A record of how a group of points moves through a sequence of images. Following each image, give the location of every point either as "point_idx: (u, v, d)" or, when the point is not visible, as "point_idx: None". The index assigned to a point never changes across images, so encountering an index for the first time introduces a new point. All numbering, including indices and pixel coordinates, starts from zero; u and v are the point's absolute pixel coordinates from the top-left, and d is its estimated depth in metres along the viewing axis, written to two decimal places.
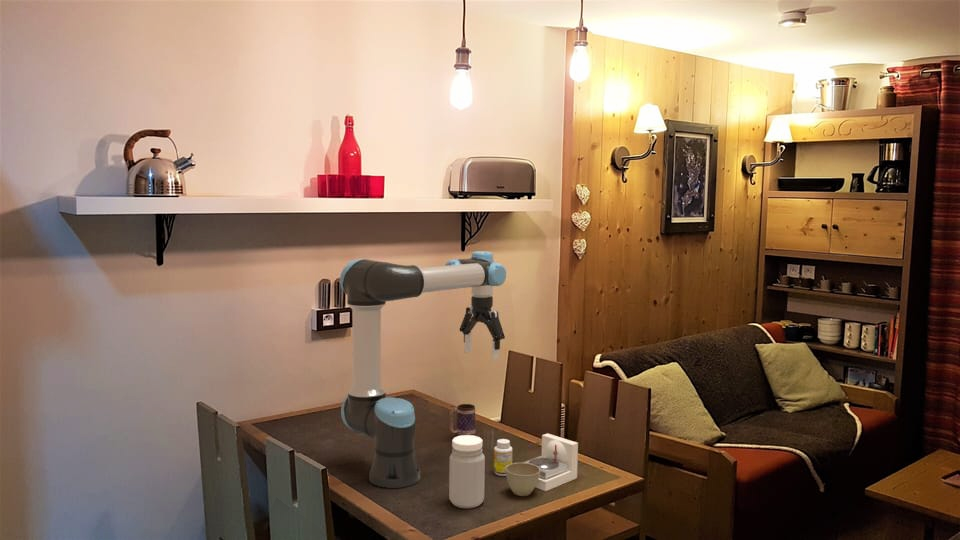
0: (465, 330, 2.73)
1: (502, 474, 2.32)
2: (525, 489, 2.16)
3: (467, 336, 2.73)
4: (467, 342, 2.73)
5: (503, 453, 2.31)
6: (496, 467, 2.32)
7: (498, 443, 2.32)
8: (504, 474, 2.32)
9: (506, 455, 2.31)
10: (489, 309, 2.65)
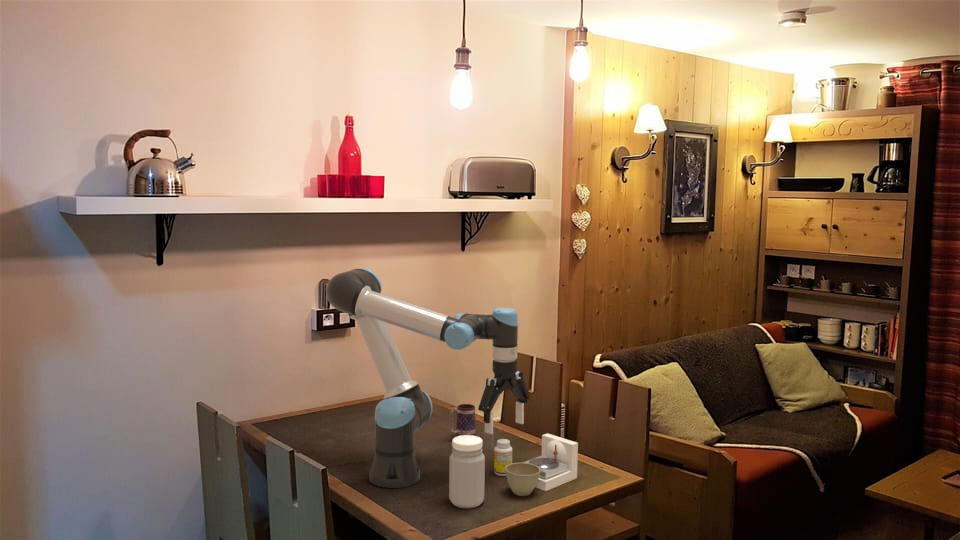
0: None
1: (502, 474, 2.32)
2: (525, 489, 2.16)
3: (517, 404, 2.37)
4: (517, 411, 2.37)
5: (503, 453, 2.31)
6: (496, 467, 2.32)
7: (498, 443, 2.32)
8: (504, 474, 2.32)
9: (506, 455, 2.31)
10: (496, 375, 2.28)
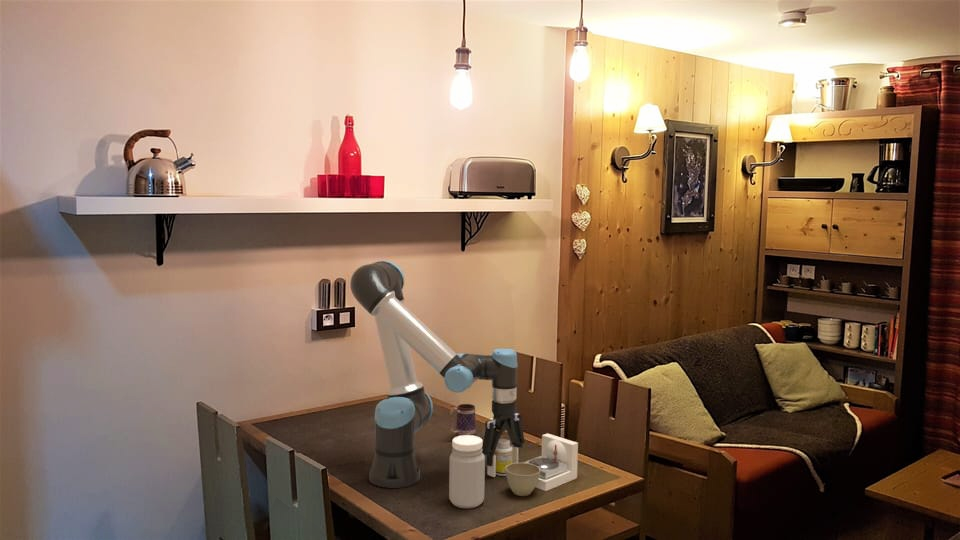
0: None
1: (502, 474, 2.32)
2: (525, 489, 2.16)
3: None
4: (512, 455, 2.38)
5: (503, 453, 2.31)
6: (496, 467, 2.32)
7: (498, 443, 2.32)
8: (504, 474, 2.32)
9: (506, 455, 2.31)
10: (495, 416, 2.30)
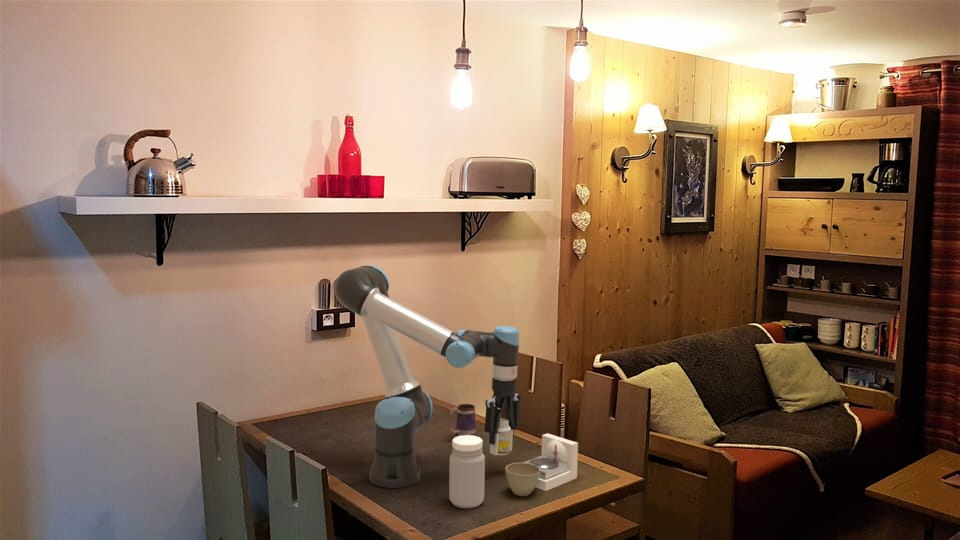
0: None
1: (500, 453, 2.31)
2: (525, 489, 2.16)
3: None
4: None
5: (501, 432, 2.30)
6: None
7: None
8: (502, 453, 2.31)
9: (504, 434, 2.31)
10: (495, 393, 2.29)
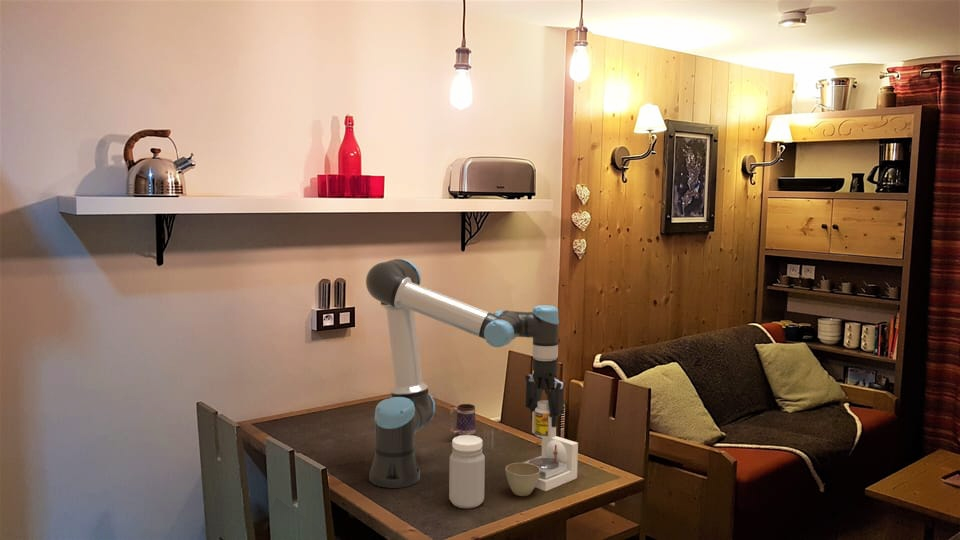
0: (532, 405, 2.29)
1: None
2: (525, 489, 2.16)
3: None
4: None
5: None
6: None
7: (548, 404, 2.25)
8: None
9: None
10: (554, 375, 2.23)
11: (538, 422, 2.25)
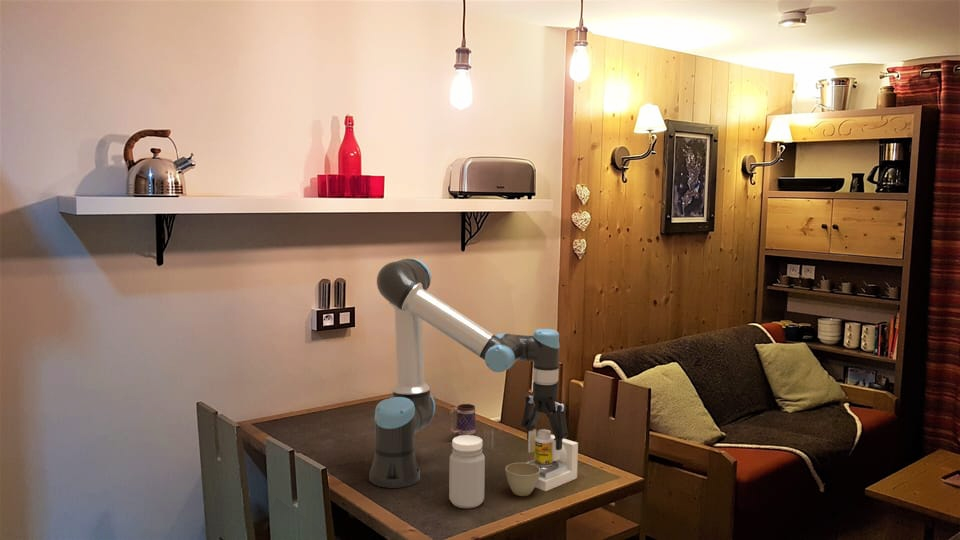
0: (528, 425, 2.30)
1: (552, 462, 2.28)
2: (525, 489, 2.16)
3: (531, 433, 2.30)
4: (531, 440, 2.31)
5: None
6: (550, 458, 2.26)
7: (548, 434, 2.26)
8: None
9: None
10: (555, 398, 2.24)
11: (537, 451, 2.26)
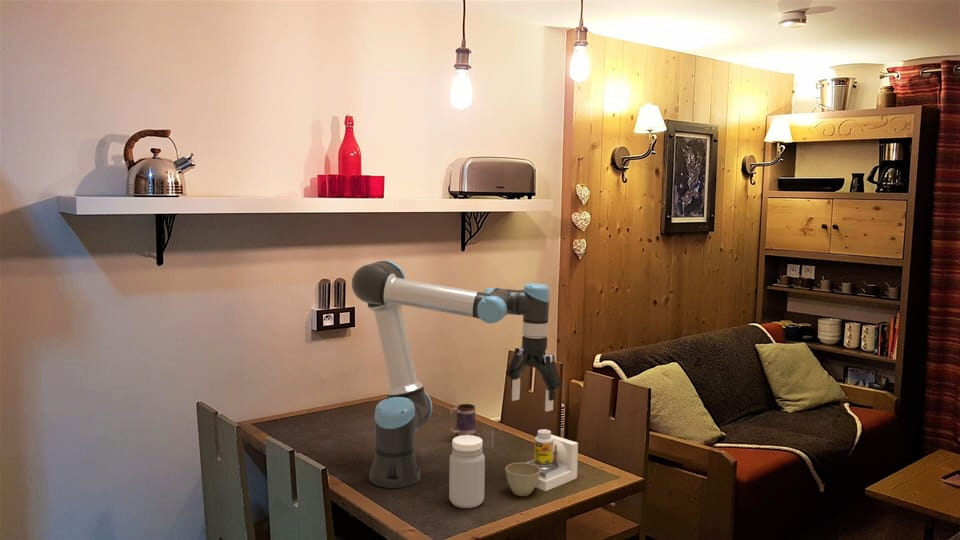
0: (513, 374, 2.33)
1: (552, 462, 2.28)
2: (525, 489, 2.16)
3: (515, 381, 2.34)
4: (515, 388, 2.34)
5: None
6: (550, 458, 2.26)
7: (548, 434, 2.26)
8: None
9: None
10: (543, 352, 2.25)
11: (537, 451, 2.26)
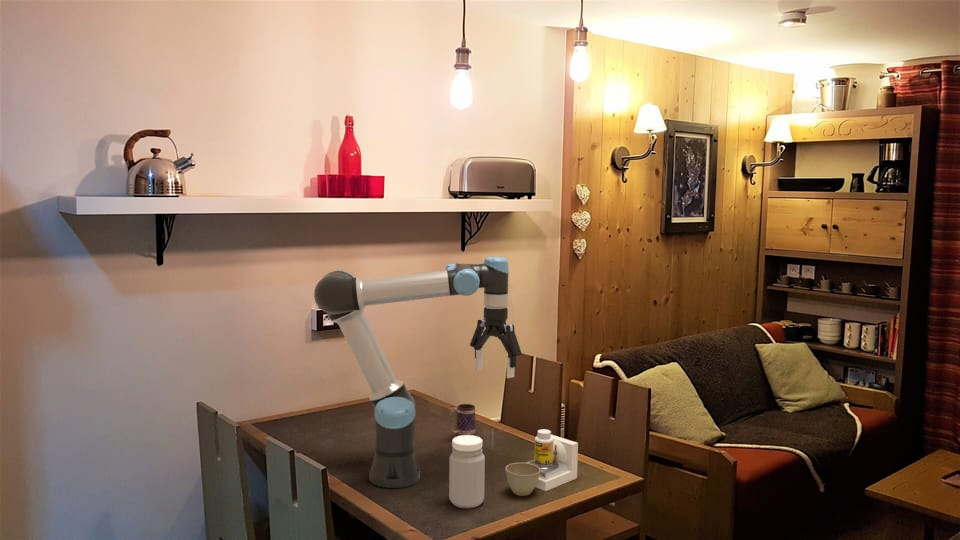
0: (476, 345, 2.44)
1: (552, 462, 2.28)
2: (525, 489, 2.16)
3: (479, 352, 2.44)
4: (479, 358, 2.45)
5: None
6: (550, 458, 2.26)
7: (548, 434, 2.26)
8: None
9: None
10: (504, 322, 2.36)
11: (537, 451, 2.26)
